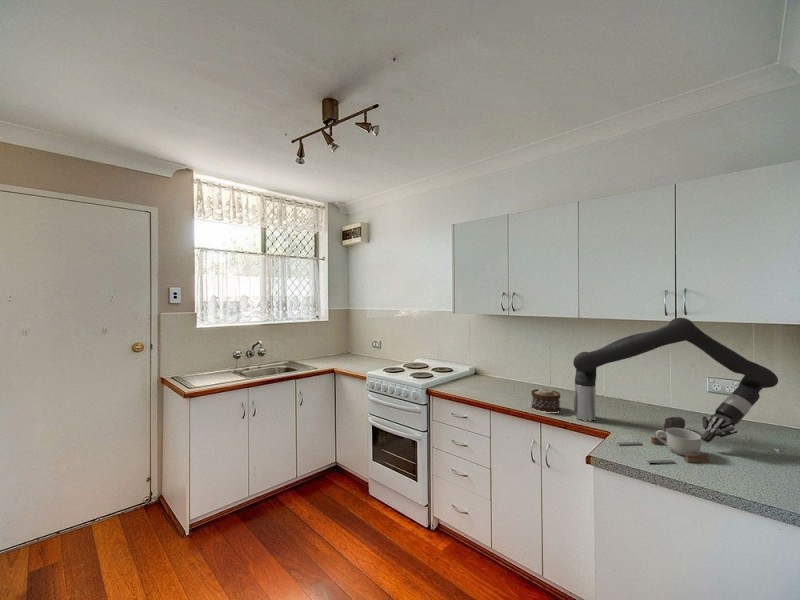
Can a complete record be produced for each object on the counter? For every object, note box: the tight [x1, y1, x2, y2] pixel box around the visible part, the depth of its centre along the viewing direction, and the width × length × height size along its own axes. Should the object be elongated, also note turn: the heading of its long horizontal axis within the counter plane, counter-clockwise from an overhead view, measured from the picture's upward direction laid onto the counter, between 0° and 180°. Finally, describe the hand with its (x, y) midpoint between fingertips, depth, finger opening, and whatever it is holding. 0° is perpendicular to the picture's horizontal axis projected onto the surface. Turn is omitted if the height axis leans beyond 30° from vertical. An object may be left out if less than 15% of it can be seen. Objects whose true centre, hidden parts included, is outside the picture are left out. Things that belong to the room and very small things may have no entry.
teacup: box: [655, 428, 702, 457], centre depth 138 cm, size 14×11×8 cm
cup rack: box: [650, 436, 709, 464], centre depth 138 cm, size 17×8×2 cm, turn 4°
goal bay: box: [616, 441, 676, 465], centre depth 137 cm, size 18×10×1 cm, turn 4°
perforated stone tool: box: [663, 416, 686, 432], centre depth 158 cm, size 15×5×7 cm, turn 118°
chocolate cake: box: [530, 388, 561, 412], centre depth 190 cm, size 15×11×15 cm
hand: (704, 440), depth 139 cm, fingers closed
